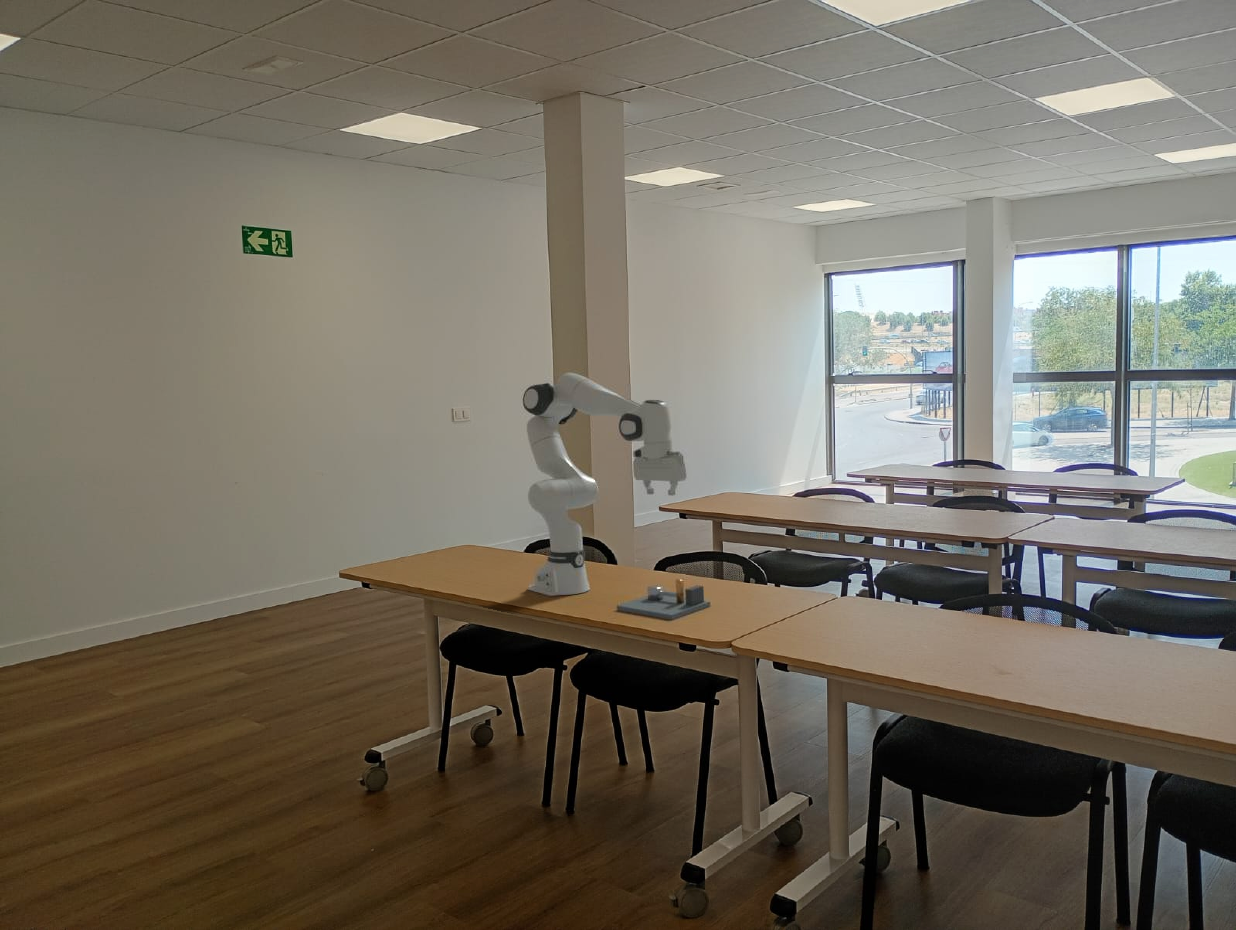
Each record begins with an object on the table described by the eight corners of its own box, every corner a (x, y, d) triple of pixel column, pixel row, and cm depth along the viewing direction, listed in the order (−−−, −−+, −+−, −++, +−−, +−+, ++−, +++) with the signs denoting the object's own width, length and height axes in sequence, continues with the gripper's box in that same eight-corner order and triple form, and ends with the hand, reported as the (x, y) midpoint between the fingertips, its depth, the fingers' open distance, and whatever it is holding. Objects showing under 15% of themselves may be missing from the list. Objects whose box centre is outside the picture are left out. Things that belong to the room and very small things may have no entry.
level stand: (616, 610, 296) (615, 589, 296) (655, 597, 310) (655, 577, 310) (672, 619, 282) (671, 598, 281) (710, 606, 296) (709, 585, 295)
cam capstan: (644, 598, 302) (643, 577, 302) (654, 595, 306) (653, 574, 305) (678, 604, 293) (677, 581, 292) (688, 600, 297) (687, 578, 296)
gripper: (689, 450, 295) (692, 494, 296) (643, 450, 310) (645, 492, 311) (675, 452, 291) (678, 497, 292) (629, 452, 306) (631, 494, 307)
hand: (661, 494), depth 302 cm, fingers open, 8 cm apart
